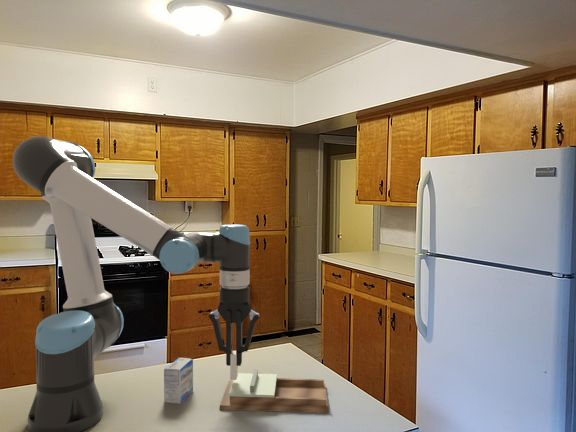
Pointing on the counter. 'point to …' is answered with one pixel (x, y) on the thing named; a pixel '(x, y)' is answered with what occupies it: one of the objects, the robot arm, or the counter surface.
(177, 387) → the medicine box
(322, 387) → the brown compartment box
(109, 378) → the counter surface
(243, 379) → the lid
